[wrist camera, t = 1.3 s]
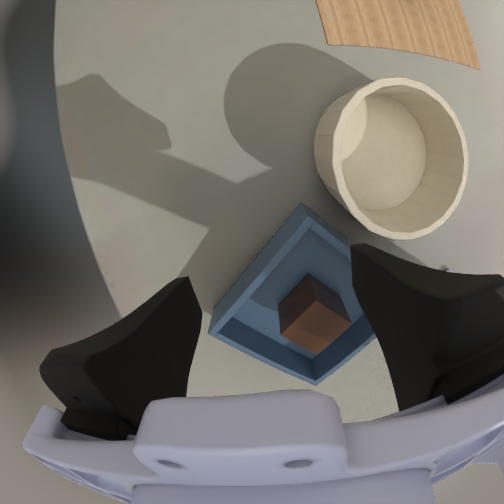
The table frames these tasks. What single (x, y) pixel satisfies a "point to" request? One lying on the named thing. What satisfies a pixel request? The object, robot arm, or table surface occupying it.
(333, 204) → the table surface
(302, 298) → the walnut block
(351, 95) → the cup
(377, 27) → the architectural model on board
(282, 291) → the tub
